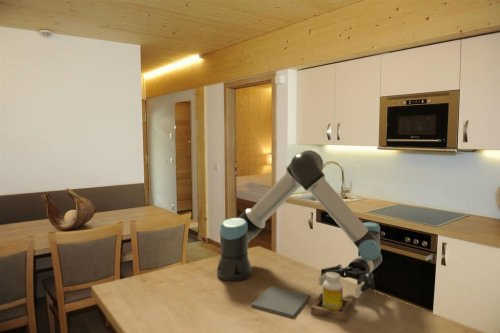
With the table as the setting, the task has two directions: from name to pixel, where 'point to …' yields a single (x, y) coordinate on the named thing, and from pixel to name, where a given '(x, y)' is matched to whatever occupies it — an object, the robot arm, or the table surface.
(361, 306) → the table surface
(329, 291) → the supplement bottle
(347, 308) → the locating collar
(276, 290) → the slate mat
